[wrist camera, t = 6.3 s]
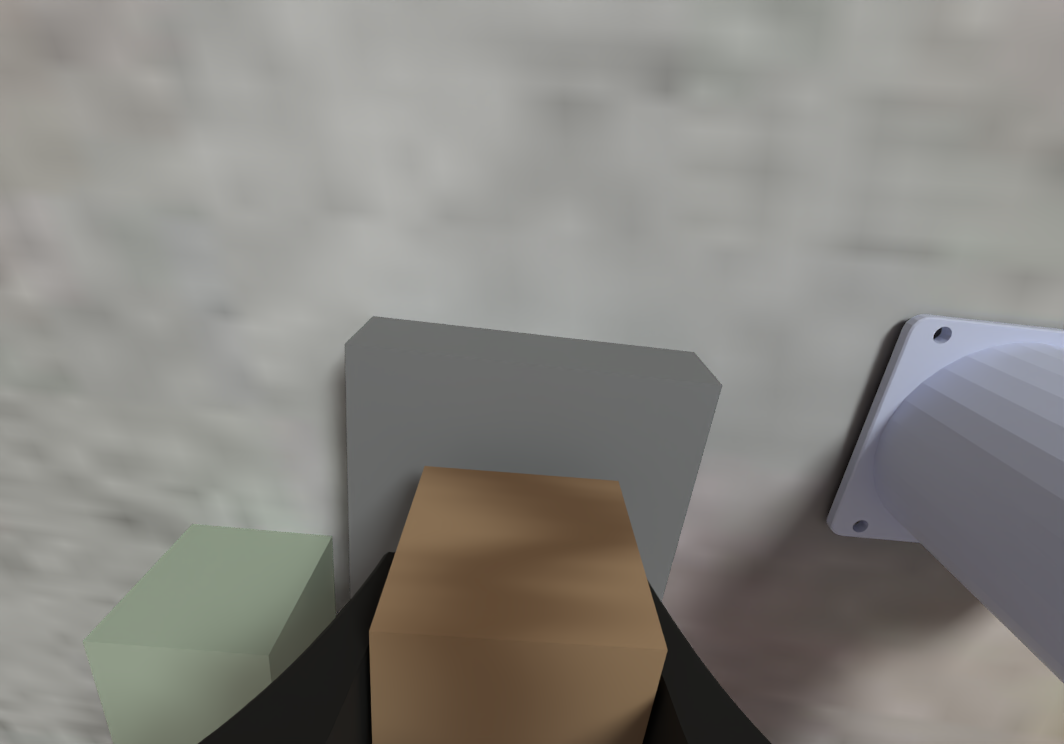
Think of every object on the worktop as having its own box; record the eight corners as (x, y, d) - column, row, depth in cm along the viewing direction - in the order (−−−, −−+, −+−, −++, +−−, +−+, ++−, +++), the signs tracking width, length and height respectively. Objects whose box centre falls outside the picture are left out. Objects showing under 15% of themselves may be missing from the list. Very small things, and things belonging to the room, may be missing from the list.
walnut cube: (618, 480, 13) (668, 650, 9) (591, 623, 15) (620, 825, 11) (424, 465, 13) (369, 631, 8) (420, 612, 15) (374, 814, 10)
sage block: (332, 534, 19) (268, 655, 14) (337, 634, 21) (281, 769, 16) (193, 522, 19) (82, 641, 14) (211, 624, 21) (117, 758, 16)
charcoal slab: (690, 347, 17) (722, 385, 14) (631, 585, 20) (647, 652, 18) (376, 312, 16) (344, 344, 13) (375, 562, 20) (350, 627, 17)
